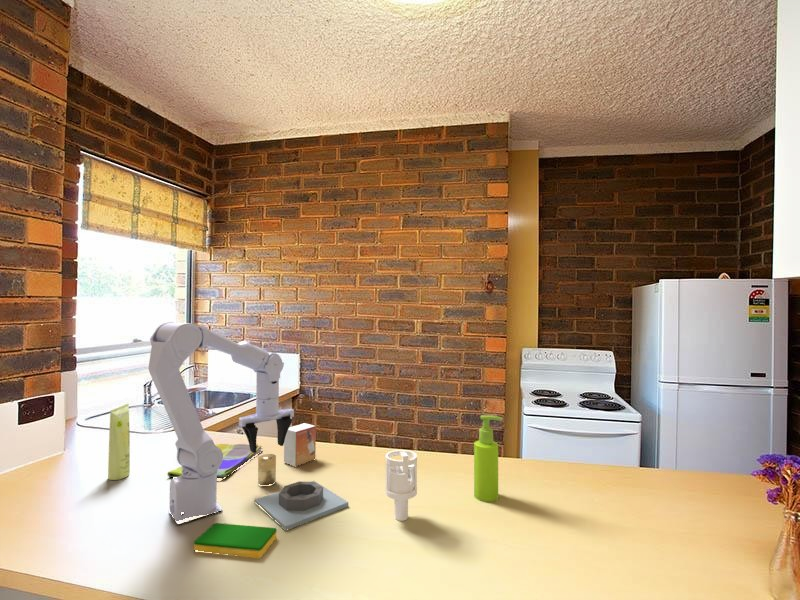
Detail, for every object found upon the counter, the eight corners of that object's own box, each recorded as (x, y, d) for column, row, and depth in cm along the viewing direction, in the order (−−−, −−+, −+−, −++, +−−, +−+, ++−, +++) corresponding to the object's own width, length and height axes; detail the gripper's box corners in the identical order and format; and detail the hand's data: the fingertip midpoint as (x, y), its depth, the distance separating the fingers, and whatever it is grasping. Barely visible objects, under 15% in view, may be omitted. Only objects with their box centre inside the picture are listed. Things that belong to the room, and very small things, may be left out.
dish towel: (163, 480, 112) (163, 470, 112) (215, 449, 136) (215, 441, 136) (223, 484, 110) (223, 474, 110) (264, 452, 134) (264, 443, 134)
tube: (132, 477, 112) (132, 406, 113) (109, 483, 109) (110, 409, 109) (127, 471, 117) (128, 403, 117) (106, 476, 113) (107, 405, 113)
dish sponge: (214, 533, 86) (214, 522, 86) (277, 539, 84) (277, 527, 84) (192, 554, 79) (192, 541, 79) (260, 561, 77) (260, 547, 77)
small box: (295, 467, 120) (295, 431, 120) (283, 463, 123) (283, 428, 123) (316, 459, 126) (316, 425, 126) (304, 455, 129) (304, 422, 130)
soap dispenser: (503, 503, 98) (503, 420, 99) (474, 500, 100) (473, 418, 100) (502, 492, 104) (501, 413, 104) (474, 490, 105) (474, 412, 106)
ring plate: (285, 531, 86) (285, 514, 86) (254, 503, 98) (254, 488, 98) (348, 506, 97) (348, 491, 97) (313, 484, 108) (313, 471, 109)
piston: (262, 488, 106) (262, 461, 106) (255, 482, 109) (255, 456, 109) (278, 483, 109) (278, 457, 109) (271, 478, 112) (271, 452, 112)
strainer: (389, 527, 87) (389, 457, 88) (382, 511, 94) (382, 446, 94) (421, 523, 89) (421, 454, 89) (411, 507, 96) (411, 443, 96)
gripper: (246, 404, 102) (246, 459, 101) (299, 395, 111) (299, 445, 111) (236, 399, 107) (235, 451, 107) (287, 391, 117) (287, 439, 116)
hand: (267, 448), depth 109 cm, fingers open, 7 cm apart
